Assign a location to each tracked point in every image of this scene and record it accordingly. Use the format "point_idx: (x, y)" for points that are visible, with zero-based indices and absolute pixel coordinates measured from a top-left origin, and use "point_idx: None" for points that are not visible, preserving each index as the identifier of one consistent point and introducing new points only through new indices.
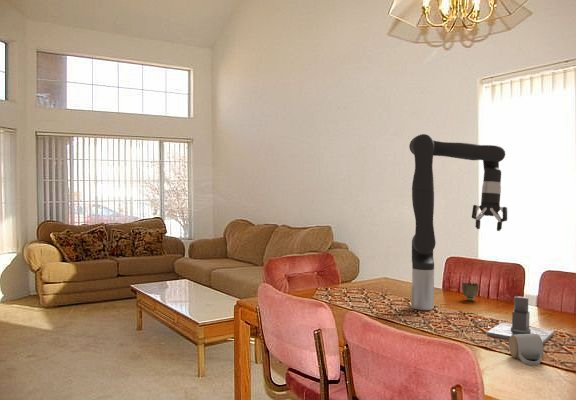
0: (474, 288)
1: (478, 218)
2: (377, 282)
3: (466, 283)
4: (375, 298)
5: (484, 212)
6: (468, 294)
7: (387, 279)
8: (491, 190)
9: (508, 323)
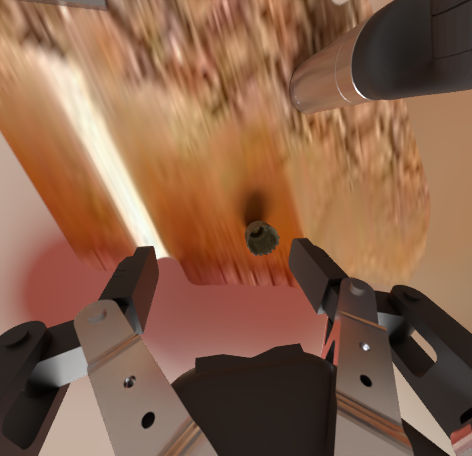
0: (250, 230)
1: (346, 292)
2: (411, 252)
3: (272, 248)
4: (406, 116)
5: (332, 386)
6: (256, 221)
7: (399, 282)
8: None
9: (86, 2)
